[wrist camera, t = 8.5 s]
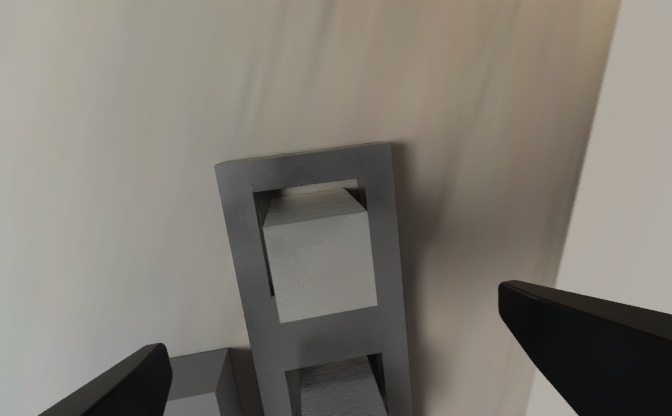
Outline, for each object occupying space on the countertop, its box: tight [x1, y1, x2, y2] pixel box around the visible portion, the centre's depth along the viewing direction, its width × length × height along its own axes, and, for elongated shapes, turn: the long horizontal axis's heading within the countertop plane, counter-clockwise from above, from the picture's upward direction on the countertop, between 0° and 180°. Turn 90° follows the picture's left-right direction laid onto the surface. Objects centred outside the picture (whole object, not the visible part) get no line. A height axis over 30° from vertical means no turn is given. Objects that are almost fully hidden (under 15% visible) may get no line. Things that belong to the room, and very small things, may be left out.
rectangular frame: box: [214, 142, 413, 416], centre depth 19 cm, size 18×8×2 cm, turn 7°
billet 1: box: [263, 188, 377, 323], centre depth 16 cm, size 4×4×6 cm
